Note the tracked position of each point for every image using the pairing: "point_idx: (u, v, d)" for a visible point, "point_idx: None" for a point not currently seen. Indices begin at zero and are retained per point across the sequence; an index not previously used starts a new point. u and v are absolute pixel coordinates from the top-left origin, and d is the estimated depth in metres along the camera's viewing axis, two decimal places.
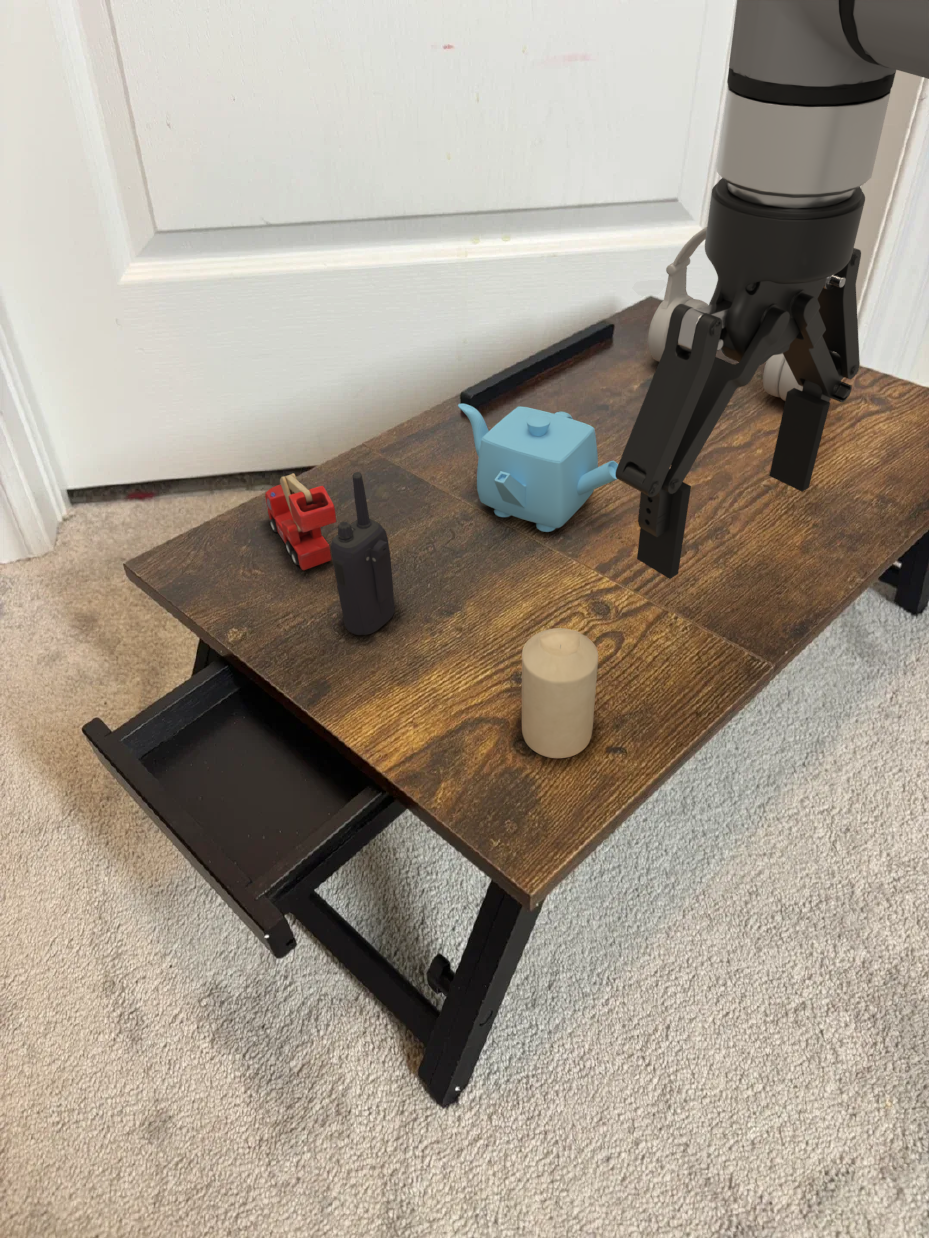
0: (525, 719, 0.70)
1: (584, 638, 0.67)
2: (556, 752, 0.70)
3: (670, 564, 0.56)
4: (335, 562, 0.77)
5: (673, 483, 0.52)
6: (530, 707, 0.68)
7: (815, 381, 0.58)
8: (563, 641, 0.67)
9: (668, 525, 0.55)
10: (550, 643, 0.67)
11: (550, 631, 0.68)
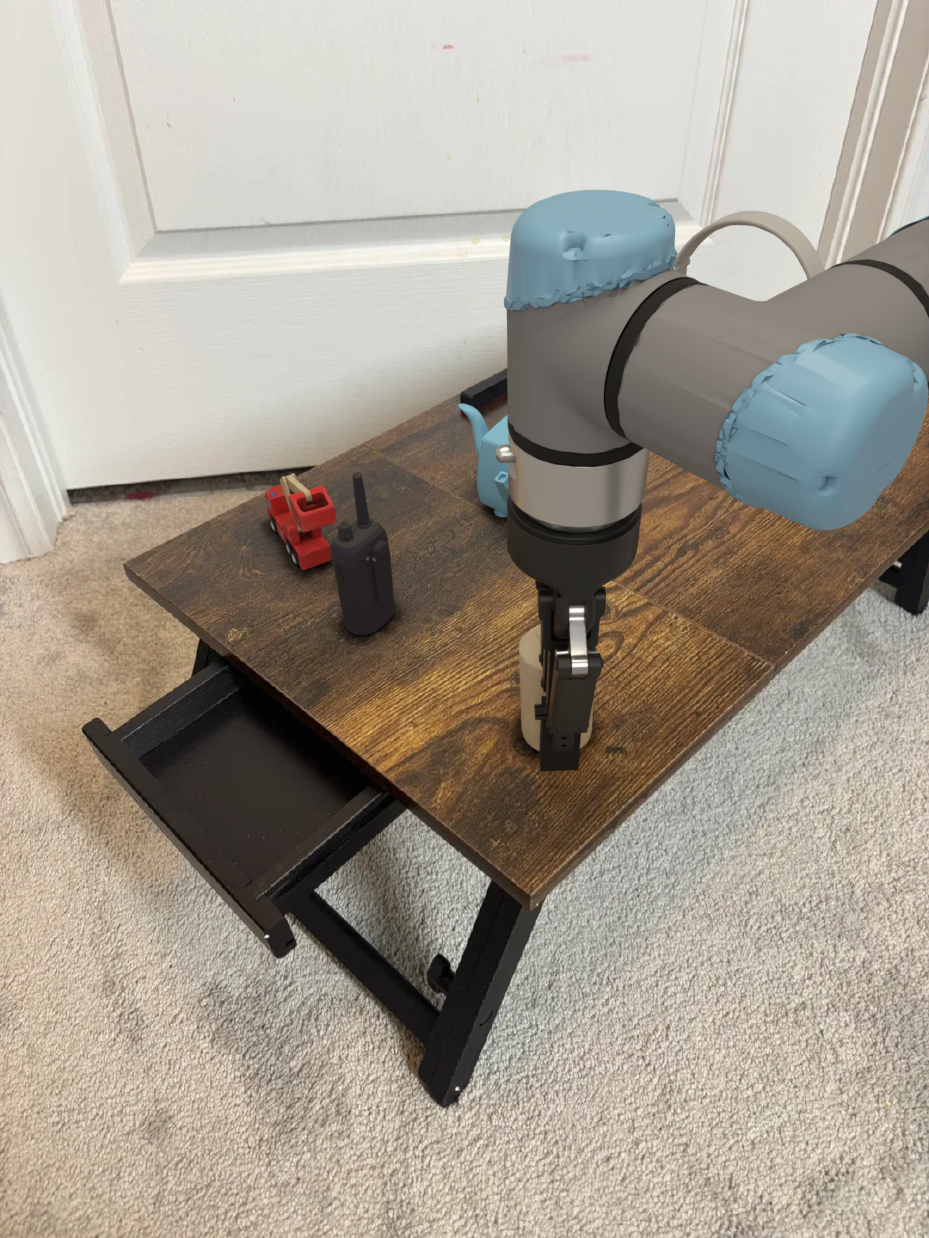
0: (524, 715, 0.70)
1: None
2: None
3: (577, 760, 0.66)
4: (335, 562, 0.77)
5: None
6: (528, 700, 0.69)
7: None
8: None
9: None
10: None
11: None
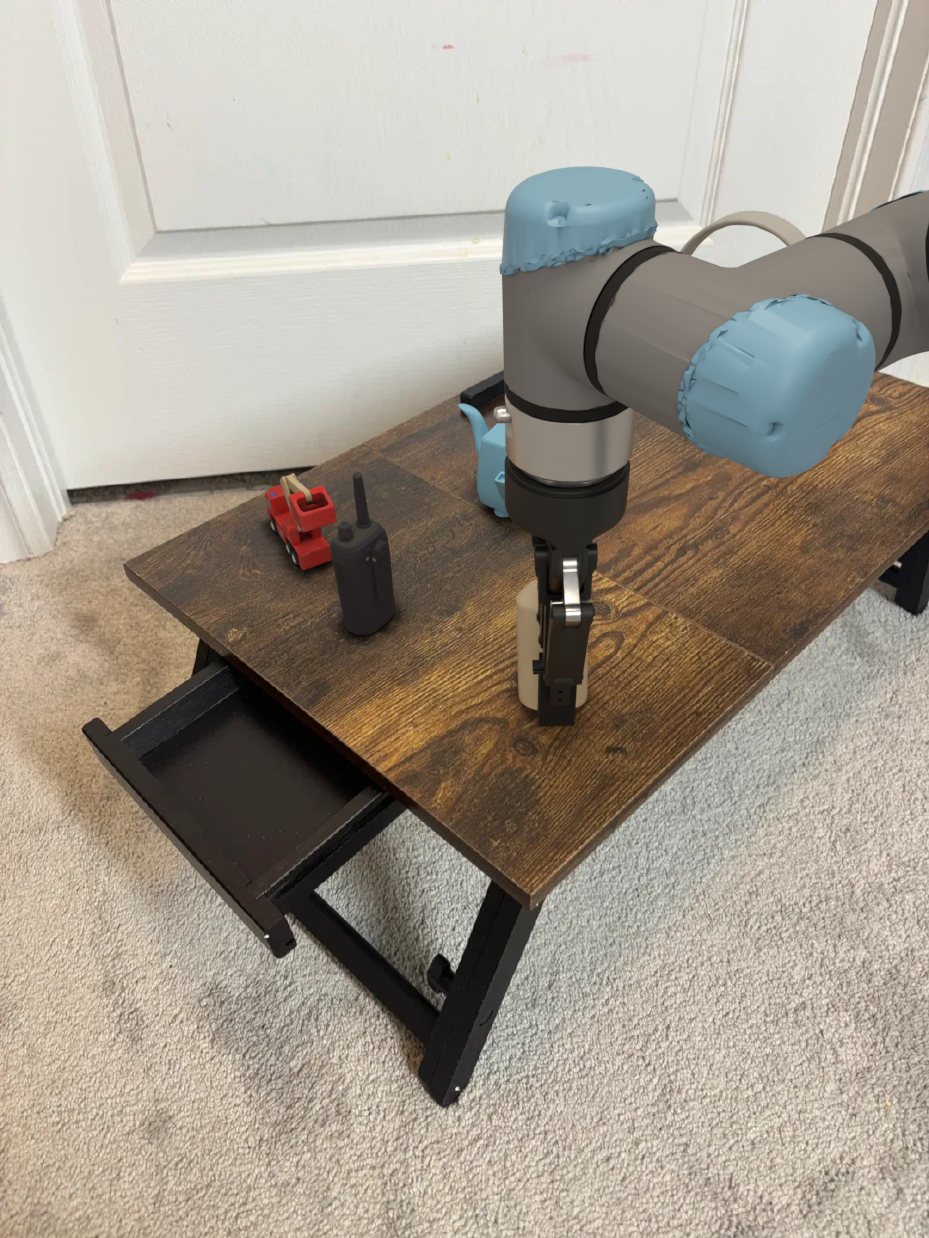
0: (521, 672, 0.72)
1: None
2: None
3: (573, 716, 0.70)
4: (335, 562, 0.77)
5: None
6: (525, 651, 0.71)
7: None
8: None
9: None
10: None
11: None
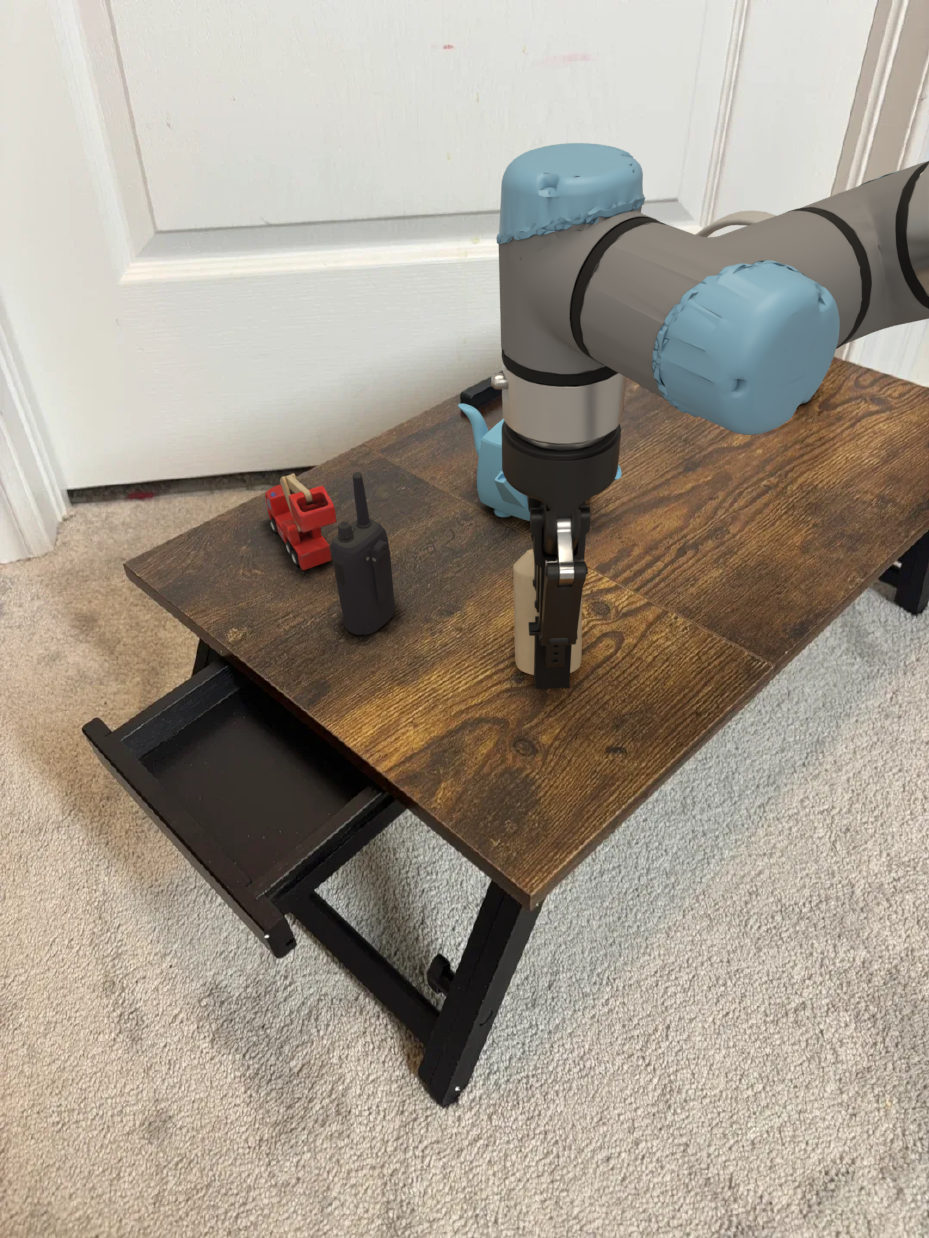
0: (517, 638, 0.75)
1: None
2: None
3: (568, 678, 0.73)
4: (335, 562, 0.77)
5: None
6: (522, 617, 0.74)
7: None
8: None
9: None
10: None
11: None
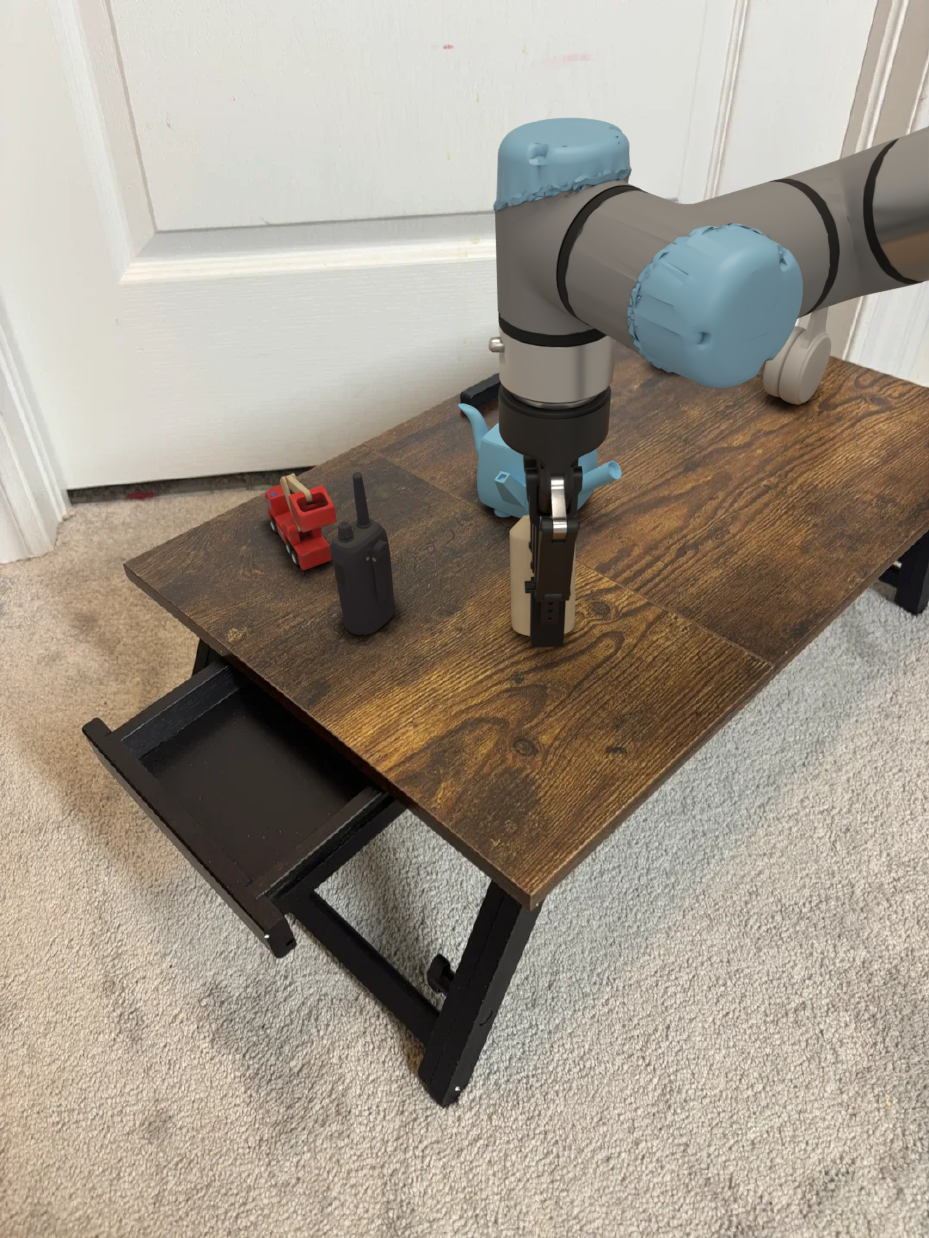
0: (514, 600, 0.79)
1: None
2: None
3: (562, 637, 0.76)
4: (335, 562, 0.77)
5: None
6: (518, 580, 0.77)
7: None
8: None
9: None
10: None
11: None
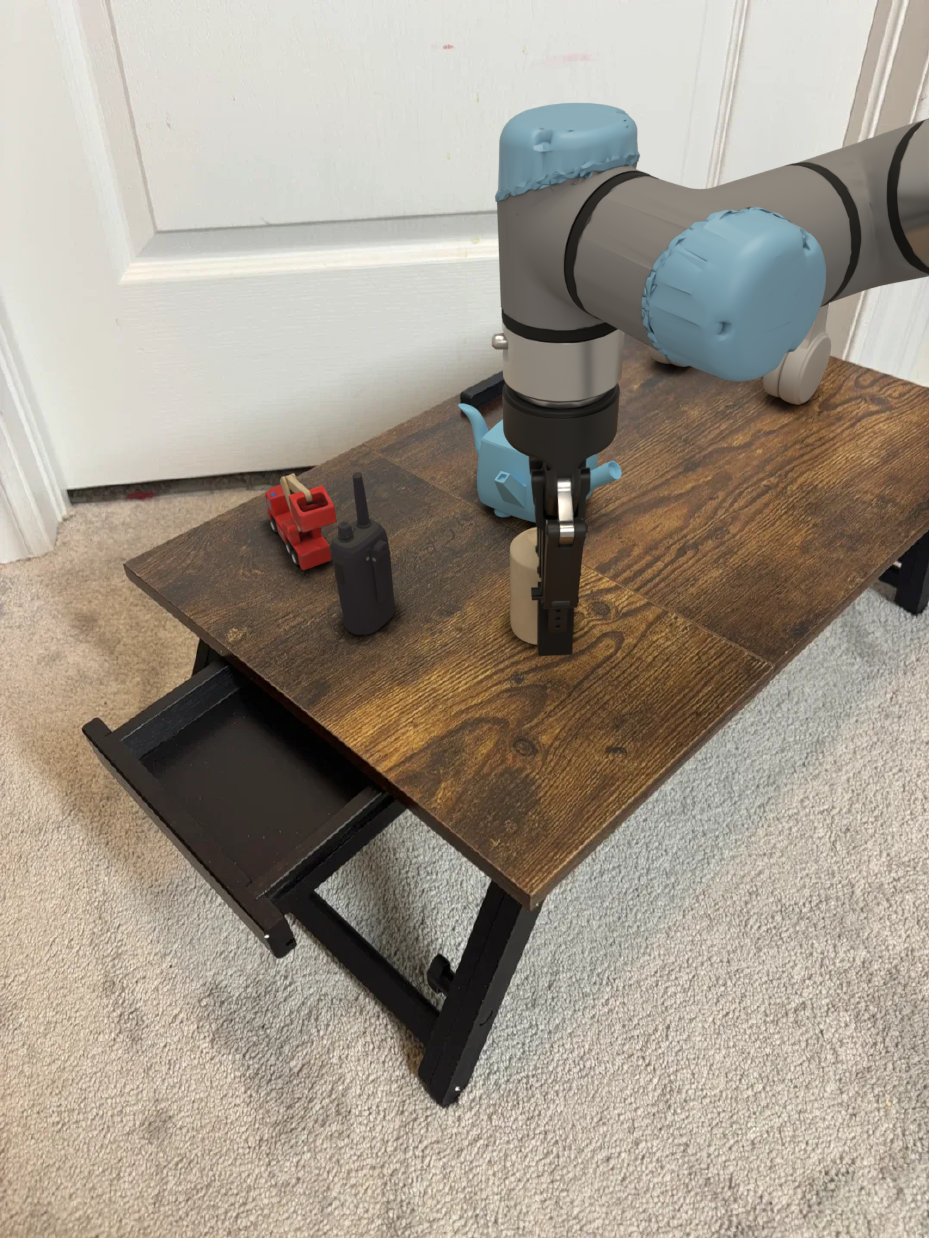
0: (513, 610, 0.79)
1: None
2: None
3: (571, 645, 0.74)
4: (335, 562, 0.77)
5: None
6: (518, 596, 0.78)
7: None
8: None
9: None
10: (534, 538, 0.76)
11: (535, 528, 0.77)
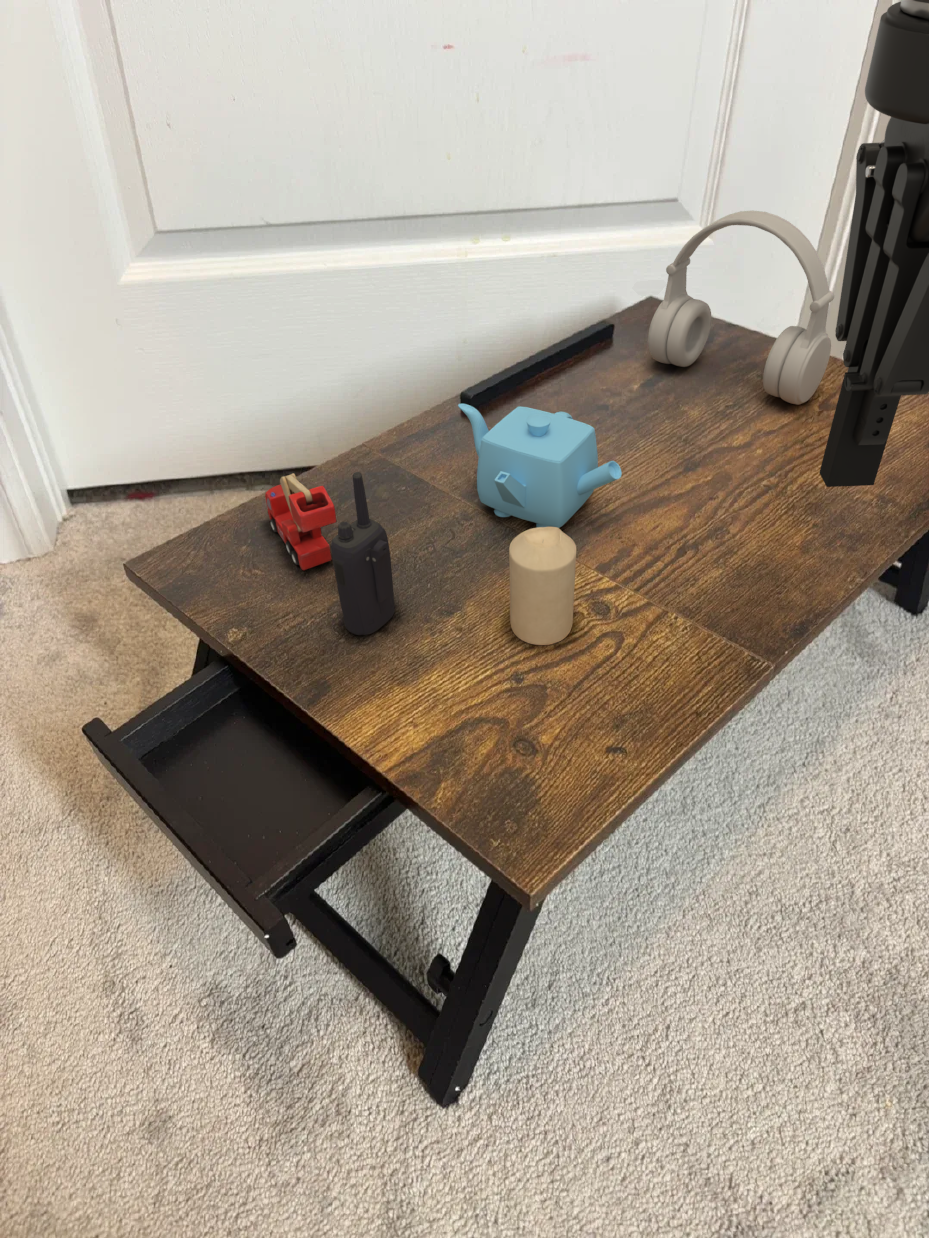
0: (512, 610, 0.79)
1: (564, 534, 0.76)
2: (540, 639, 0.80)
3: (876, 469, 0.53)
4: (335, 562, 0.77)
5: None
6: (517, 596, 0.78)
7: None
8: (545, 537, 0.76)
9: None
10: (534, 539, 0.76)
11: (534, 529, 0.77)
